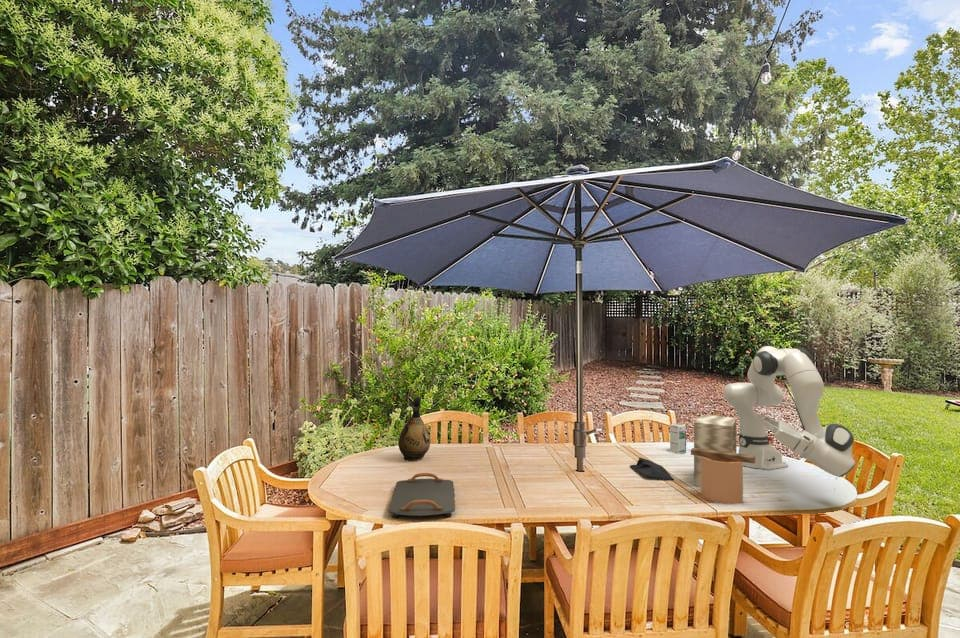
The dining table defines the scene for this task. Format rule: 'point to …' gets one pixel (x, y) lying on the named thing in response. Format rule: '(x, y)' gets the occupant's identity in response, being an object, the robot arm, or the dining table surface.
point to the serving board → (423, 497)
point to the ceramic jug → (414, 435)
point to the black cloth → (651, 470)
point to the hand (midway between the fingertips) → (764, 420)
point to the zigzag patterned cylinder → (713, 438)
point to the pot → (722, 480)
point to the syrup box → (678, 438)
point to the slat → (723, 455)
